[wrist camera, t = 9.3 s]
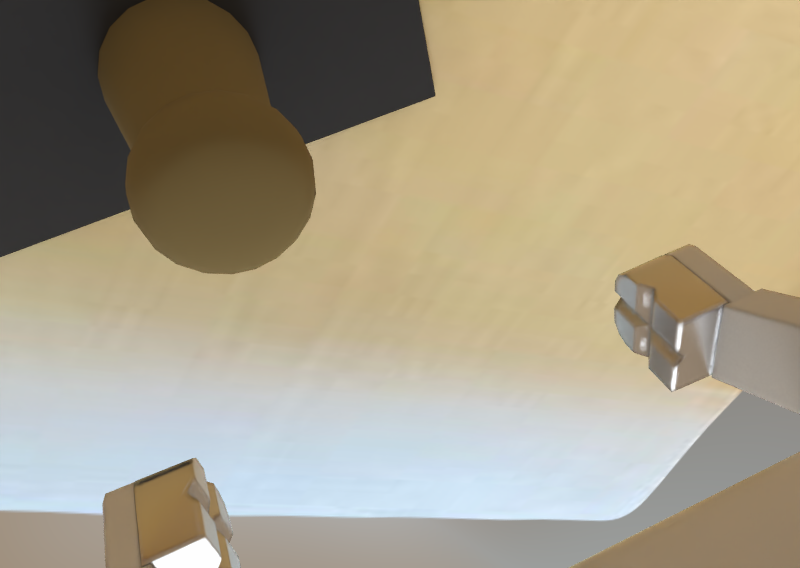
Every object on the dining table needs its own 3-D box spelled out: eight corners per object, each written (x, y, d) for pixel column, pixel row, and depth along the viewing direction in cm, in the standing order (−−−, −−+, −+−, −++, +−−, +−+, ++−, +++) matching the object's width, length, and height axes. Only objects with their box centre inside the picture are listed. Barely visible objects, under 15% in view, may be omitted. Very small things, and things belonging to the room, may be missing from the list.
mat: (-224, -19, 21) (-227, -17, 21) (381, -196, 24) (383, -196, 24) (-13, 258, 28) (-14, 262, 28) (433, 93, 31) (435, 96, 31)
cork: (80, 126, 26) (86, 290, 18) (119, -34, 24) (147, 70, 15) (234, 166, 29) (299, 320, 21) (282, 28, 27) (378, 142, 19)
